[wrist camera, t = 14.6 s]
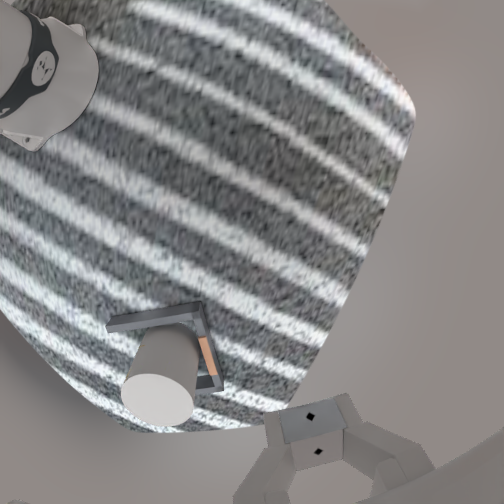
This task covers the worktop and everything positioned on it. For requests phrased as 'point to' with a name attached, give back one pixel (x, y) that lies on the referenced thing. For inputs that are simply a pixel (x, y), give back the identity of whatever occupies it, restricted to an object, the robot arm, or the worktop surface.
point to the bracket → (175, 315)
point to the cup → (163, 376)
